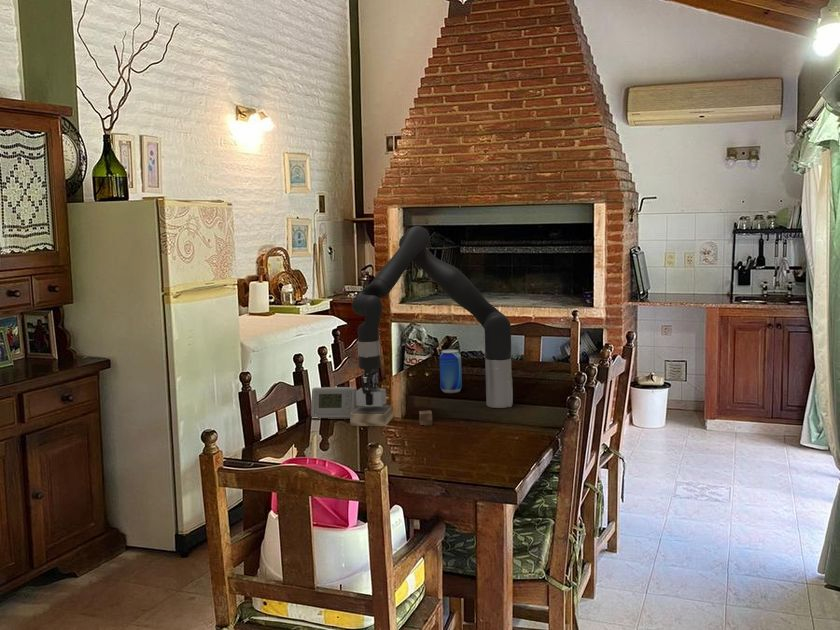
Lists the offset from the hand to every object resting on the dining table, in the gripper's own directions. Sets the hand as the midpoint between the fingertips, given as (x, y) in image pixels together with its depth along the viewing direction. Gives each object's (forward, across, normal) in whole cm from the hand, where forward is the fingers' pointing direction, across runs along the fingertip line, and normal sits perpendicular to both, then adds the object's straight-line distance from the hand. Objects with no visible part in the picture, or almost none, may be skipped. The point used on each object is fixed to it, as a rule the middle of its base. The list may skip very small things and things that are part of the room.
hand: (371, 402), depth 264 cm
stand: (+6, 0, 0) cm, 6 cm away
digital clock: (+7, -4, -15) cm, 16 cm away
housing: (+1, 0, 0) cm, 1 cm away
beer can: (+7, -46, +20) cm, 50 cm away
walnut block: (+7, +2, +19) cm, 20 cm away
